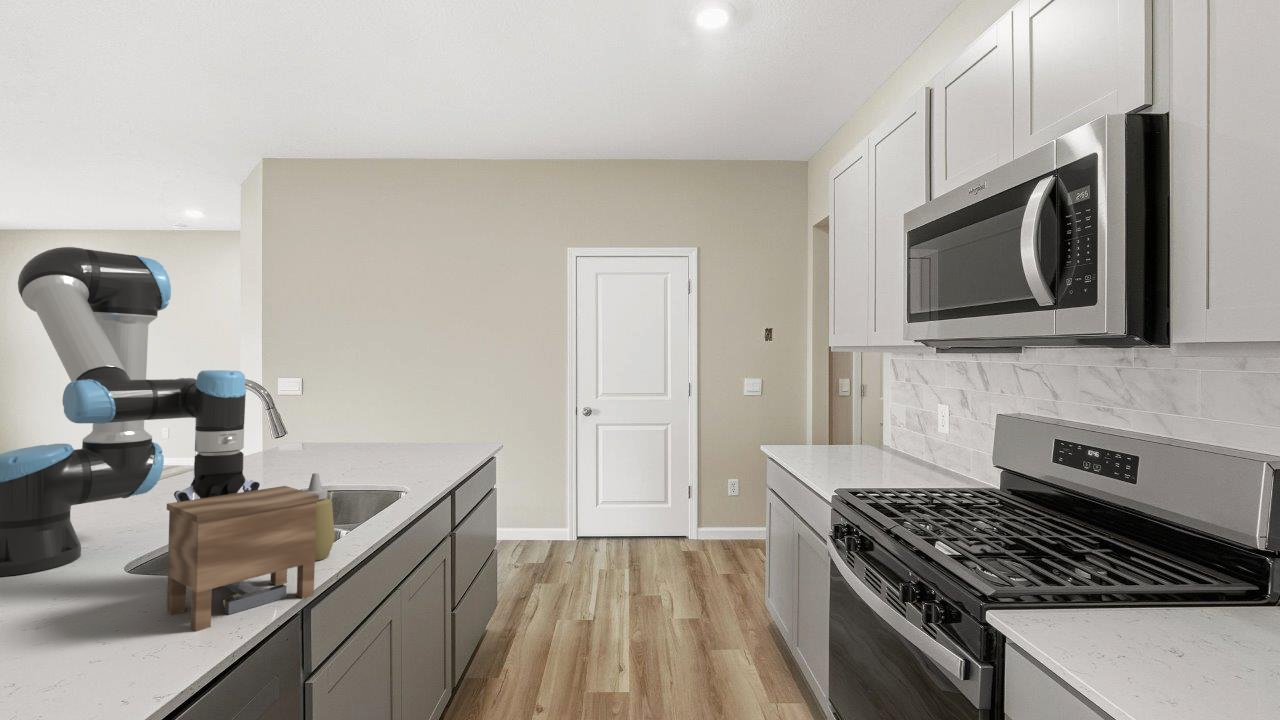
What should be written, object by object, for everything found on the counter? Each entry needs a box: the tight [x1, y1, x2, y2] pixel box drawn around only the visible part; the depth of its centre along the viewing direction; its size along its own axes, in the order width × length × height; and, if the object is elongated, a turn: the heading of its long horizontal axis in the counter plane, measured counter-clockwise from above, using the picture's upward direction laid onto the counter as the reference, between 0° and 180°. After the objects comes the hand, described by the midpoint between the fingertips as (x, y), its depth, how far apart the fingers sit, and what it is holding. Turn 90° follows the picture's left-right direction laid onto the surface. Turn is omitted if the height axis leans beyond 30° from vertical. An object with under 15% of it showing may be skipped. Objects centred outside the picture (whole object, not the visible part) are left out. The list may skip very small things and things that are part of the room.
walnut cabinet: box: [166, 485, 319, 632], centre depth 102 cm, size 13×19×18 cm
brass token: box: [222, 593, 241, 608], centre depth 103 cm, size 5×5×1 cm
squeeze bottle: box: [304, 472, 336, 562], centre depth 126 cm, size 8×8×18 cm
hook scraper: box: [223, 580, 287, 615], centre depth 106 cm, size 19×9×11 cm, turn 56°
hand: (216, 576), depth 111 cm, fingers closed on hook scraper, 3 cm apart
